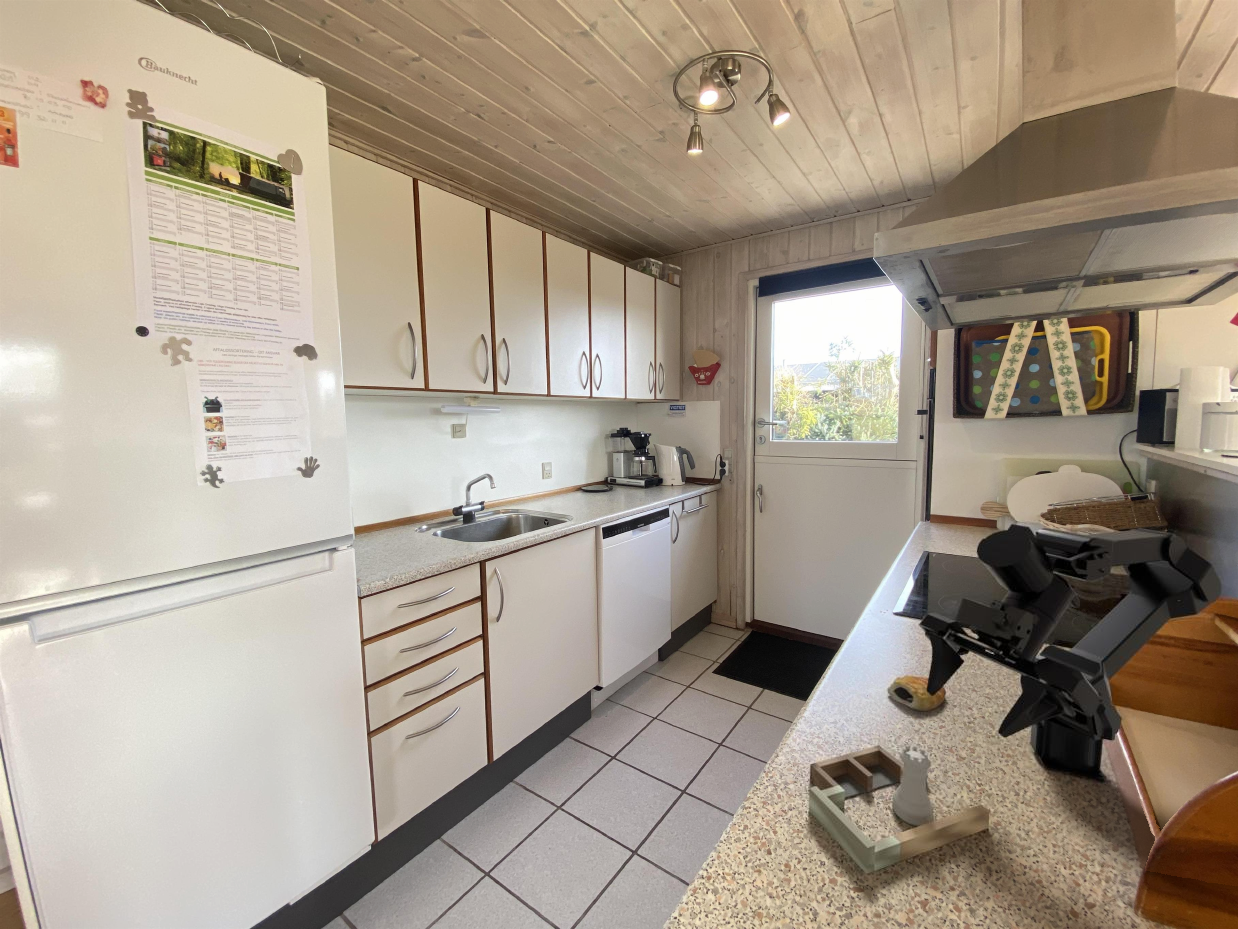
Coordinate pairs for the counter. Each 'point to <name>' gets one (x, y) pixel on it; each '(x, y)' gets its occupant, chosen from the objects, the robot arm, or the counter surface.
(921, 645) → the counter surface
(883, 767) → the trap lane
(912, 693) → the pastry
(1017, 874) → the counter surface
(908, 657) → the counter surface
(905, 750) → the rook chess piece
